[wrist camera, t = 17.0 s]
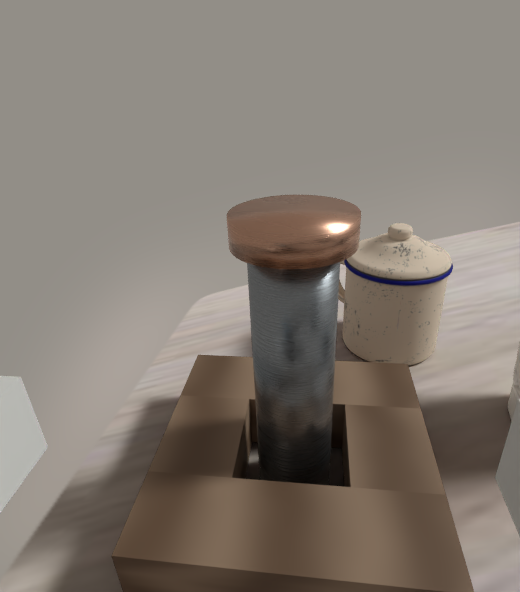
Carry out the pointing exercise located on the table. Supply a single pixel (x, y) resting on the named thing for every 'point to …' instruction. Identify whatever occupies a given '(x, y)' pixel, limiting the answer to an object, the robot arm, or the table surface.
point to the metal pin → (294, 323)
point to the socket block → (292, 497)
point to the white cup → (515, 387)
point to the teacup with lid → (394, 297)
